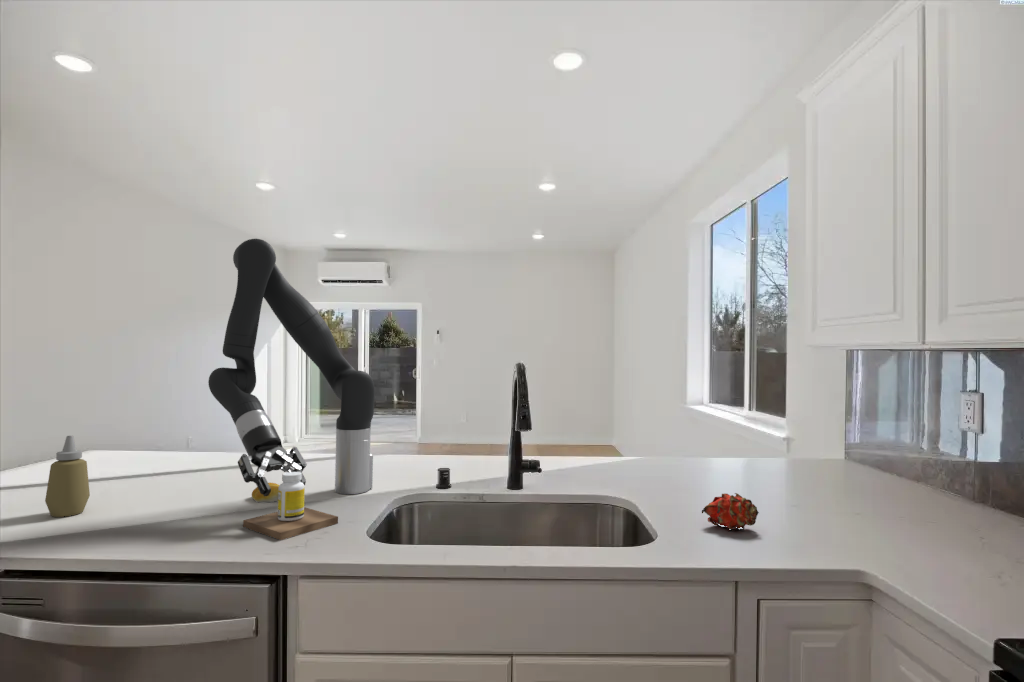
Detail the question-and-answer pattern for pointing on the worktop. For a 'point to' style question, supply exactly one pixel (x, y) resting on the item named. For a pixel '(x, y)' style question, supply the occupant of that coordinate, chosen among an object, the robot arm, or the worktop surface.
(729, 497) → the dragon fruit
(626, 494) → the worktop surface
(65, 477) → the squeeze bottle
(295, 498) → the supplement bottle
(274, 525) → the walnut board
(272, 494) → the bread roll
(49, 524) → the worktop surface
